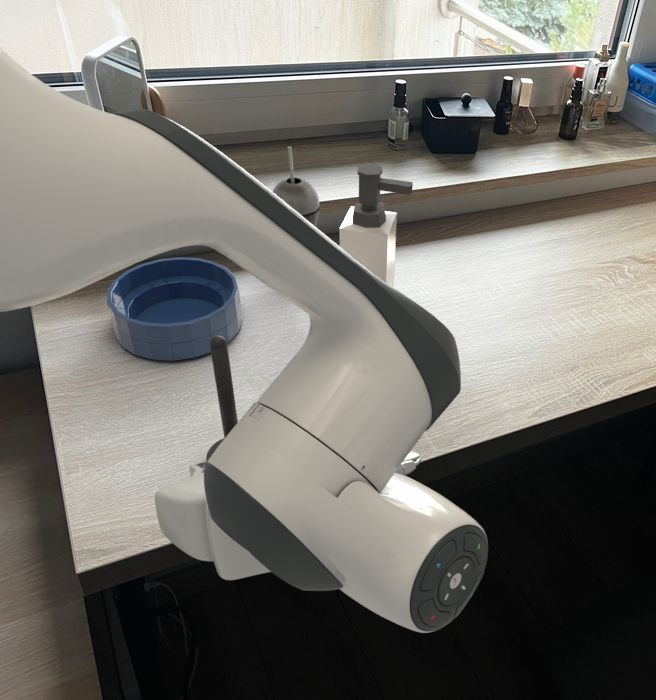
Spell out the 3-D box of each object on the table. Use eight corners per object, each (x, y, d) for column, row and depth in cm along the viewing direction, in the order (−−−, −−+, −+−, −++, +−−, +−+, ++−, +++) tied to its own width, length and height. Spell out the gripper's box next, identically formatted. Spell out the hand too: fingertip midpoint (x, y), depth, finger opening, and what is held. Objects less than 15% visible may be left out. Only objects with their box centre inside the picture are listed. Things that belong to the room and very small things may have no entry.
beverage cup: (283, 289, 108) (274, 164, 96) (268, 264, 113) (258, 142, 101) (329, 280, 112) (326, 157, 99) (313, 256, 116) (308, 137, 104)
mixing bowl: (116, 372, 91) (106, 334, 87) (115, 300, 102) (106, 264, 99) (249, 352, 96) (245, 316, 93) (234, 286, 108) (230, 251, 104)
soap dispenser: (400, 325, 104) (408, 185, 91) (340, 316, 105) (338, 175, 91) (408, 300, 109) (416, 164, 96) (351, 292, 110) (351, 155, 96)
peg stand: (210, 489, 78) (187, 361, 67) (205, 450, 82) (182, 323, 71) (267, 477, 80) (253, 351, 69) (259, 440, 84) (245, 315, 73)
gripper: (428, 427, 61) (344, 395, 72) (189, 508, 49) (128, 455, 59) (434, 495, 63) (350, 455, 73) (202, 591, 50) (141, 526, 61)
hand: (249, 456), depth 66 cm, fingers open, 8 cm apart
